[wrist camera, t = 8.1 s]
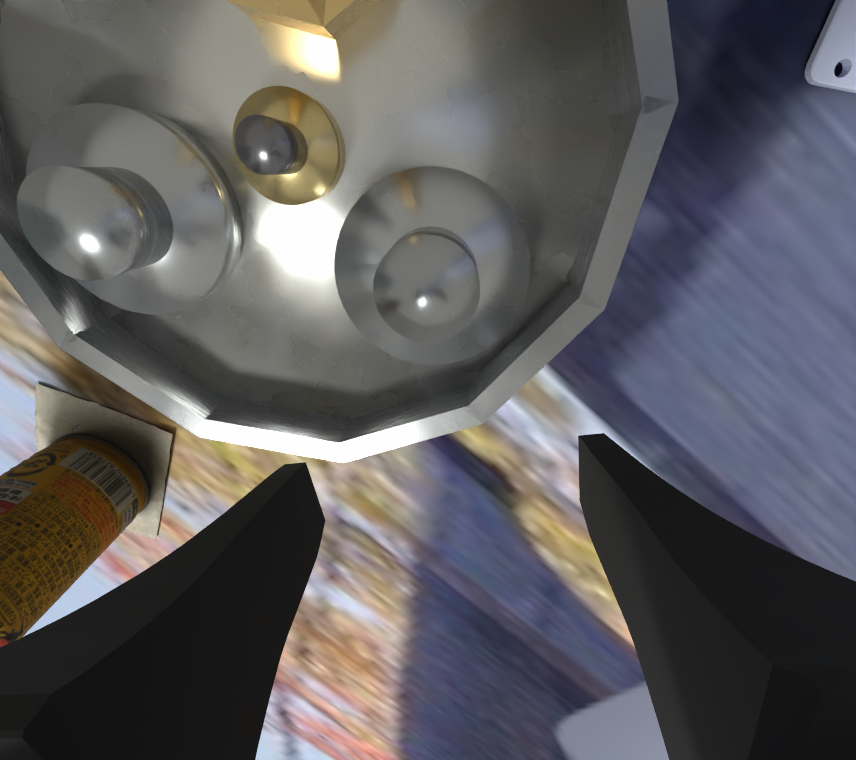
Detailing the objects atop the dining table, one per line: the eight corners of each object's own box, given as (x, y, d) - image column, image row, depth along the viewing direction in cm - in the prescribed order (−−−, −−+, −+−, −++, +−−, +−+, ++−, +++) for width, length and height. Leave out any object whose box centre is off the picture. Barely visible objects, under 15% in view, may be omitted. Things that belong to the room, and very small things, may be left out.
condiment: (38, 497, 27) (-251, 722, 16) (38, 381, 23) (-337, 569, 12) (158, 536, 27) (-40, 777, 16) (176, 431, 24) (-62, 649, 13)
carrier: (752, -244, 12) (947, -521, 7) (526, 452, 23) (545, 530, 18) (-103, -418, 12) (-497, -831, 7) (64, 369, 22) (-47, 425, 17)
